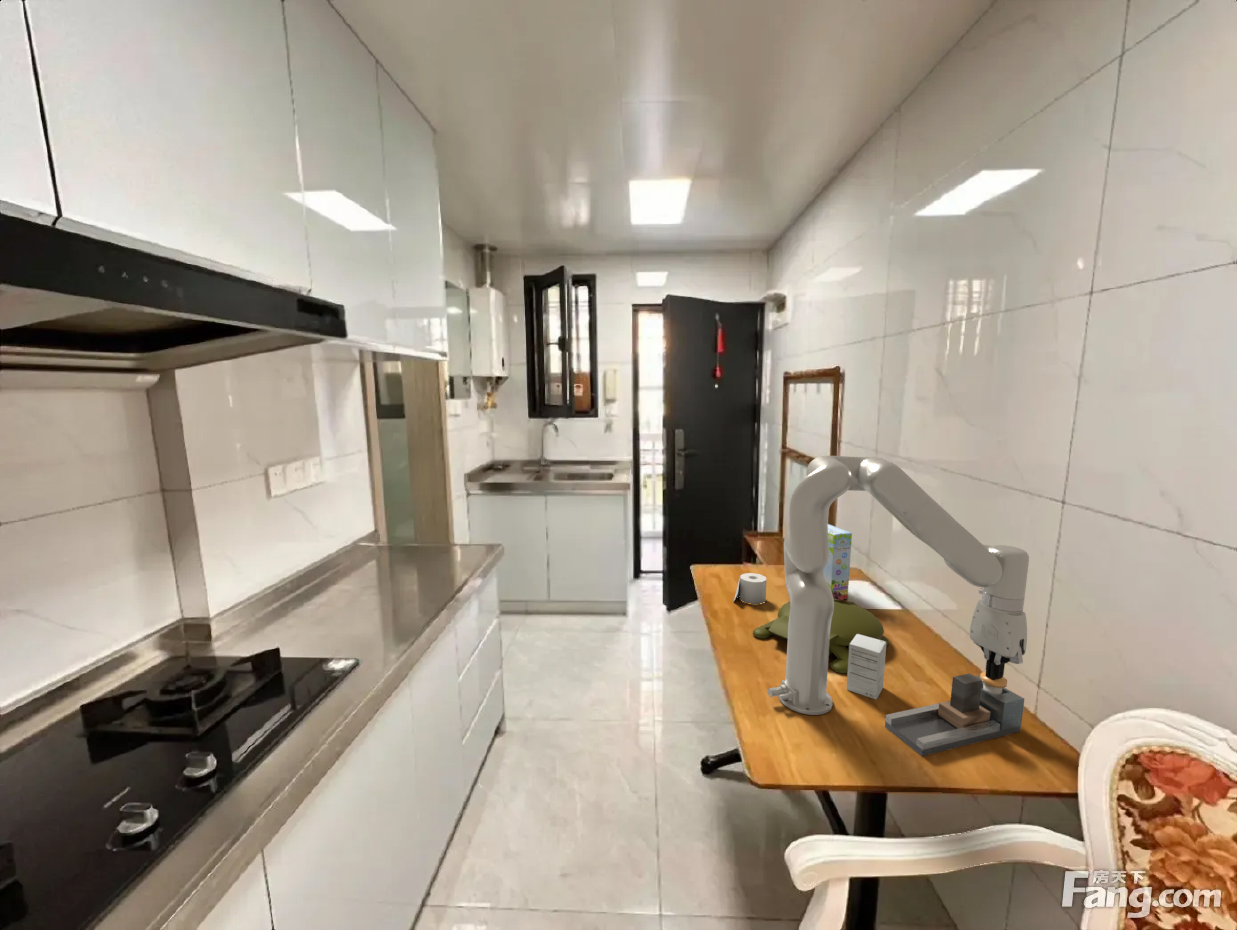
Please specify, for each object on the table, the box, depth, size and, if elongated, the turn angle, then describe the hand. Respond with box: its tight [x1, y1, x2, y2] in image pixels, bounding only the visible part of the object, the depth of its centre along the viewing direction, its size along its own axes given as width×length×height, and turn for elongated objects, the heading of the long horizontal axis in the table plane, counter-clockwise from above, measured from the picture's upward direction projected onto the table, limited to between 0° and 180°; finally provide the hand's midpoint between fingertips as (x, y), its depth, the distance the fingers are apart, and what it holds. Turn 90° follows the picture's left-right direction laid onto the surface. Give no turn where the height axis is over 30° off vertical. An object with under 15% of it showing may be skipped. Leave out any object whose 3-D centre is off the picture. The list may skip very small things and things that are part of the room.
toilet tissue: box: [733, 572, 767, 604], centre depth 188 cm, size 9×13×9 cm
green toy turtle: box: [752, 599, 890, 675], centre depth 161 cm, size 35×31×10 cm
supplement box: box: [846, 634, 887, 700], centre depth 132 cm, size 7×7×13 cm
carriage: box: [938, 673, 991, 728], centre depth 117 cm, size 8×6×10 cm
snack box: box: [823, 523, 853, 601], centre depth 197 cm, size 22×9×26 cm, turn 17°
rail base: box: [884, 675, 1025, 757], centre depth 117 cm, size 28×10×8 cm, turn 107°
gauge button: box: [979, 671, 1008, 695], centre depth 120 cm, size 5×5×8 cm
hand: (993, 677), depth 119 cm, fingers closed
